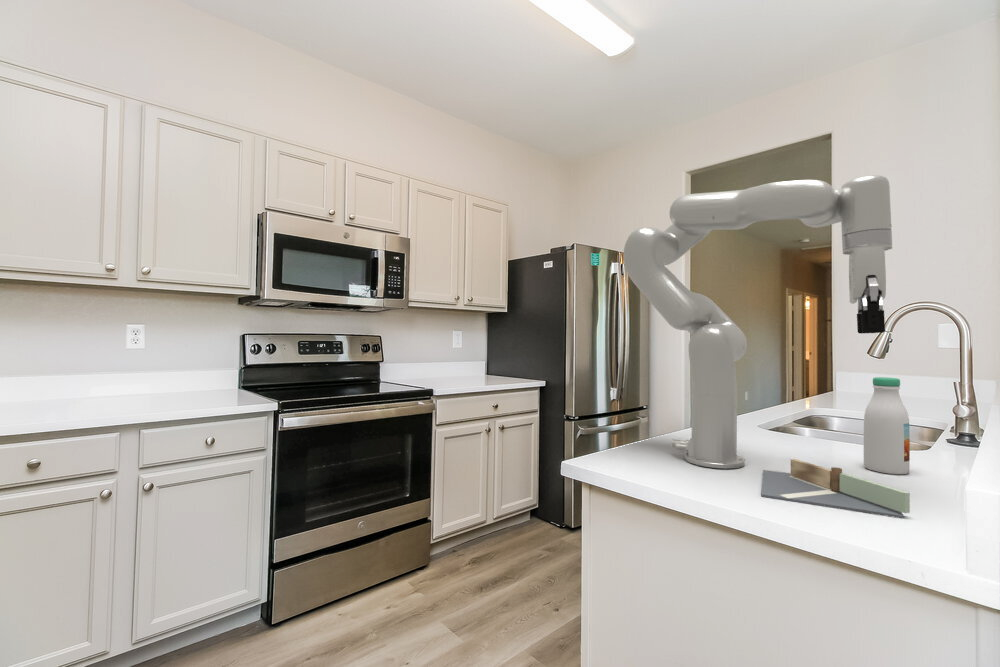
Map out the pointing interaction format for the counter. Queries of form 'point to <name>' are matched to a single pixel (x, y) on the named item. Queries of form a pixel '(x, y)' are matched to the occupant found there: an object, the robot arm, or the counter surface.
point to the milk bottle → (886, 429)
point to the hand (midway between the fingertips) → (870, 333)
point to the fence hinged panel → (875, 492)
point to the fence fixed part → (817, 474)
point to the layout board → (816, 494)
